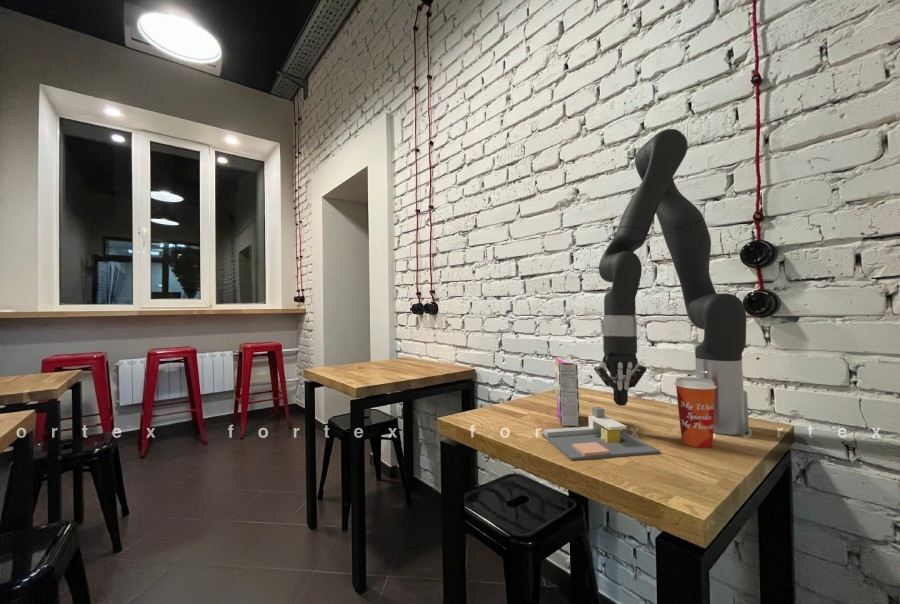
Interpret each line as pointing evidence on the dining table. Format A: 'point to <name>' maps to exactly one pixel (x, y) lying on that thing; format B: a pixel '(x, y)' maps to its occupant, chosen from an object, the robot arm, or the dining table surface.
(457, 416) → the dining table surface
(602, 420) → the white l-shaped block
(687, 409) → the paper cup
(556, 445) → the puzzle board
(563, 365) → the candy bar box
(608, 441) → the alphabet block
